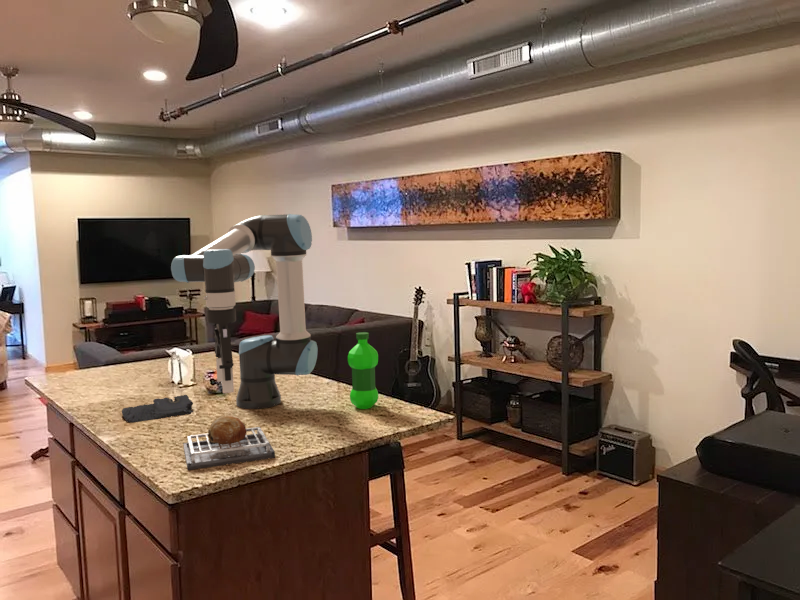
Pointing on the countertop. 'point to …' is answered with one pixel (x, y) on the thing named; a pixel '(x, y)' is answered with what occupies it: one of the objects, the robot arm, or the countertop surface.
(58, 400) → the countertop surface
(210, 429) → the bread roll
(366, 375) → the plastic bottle
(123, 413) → the dark slate chunk
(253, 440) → the cooling rack
